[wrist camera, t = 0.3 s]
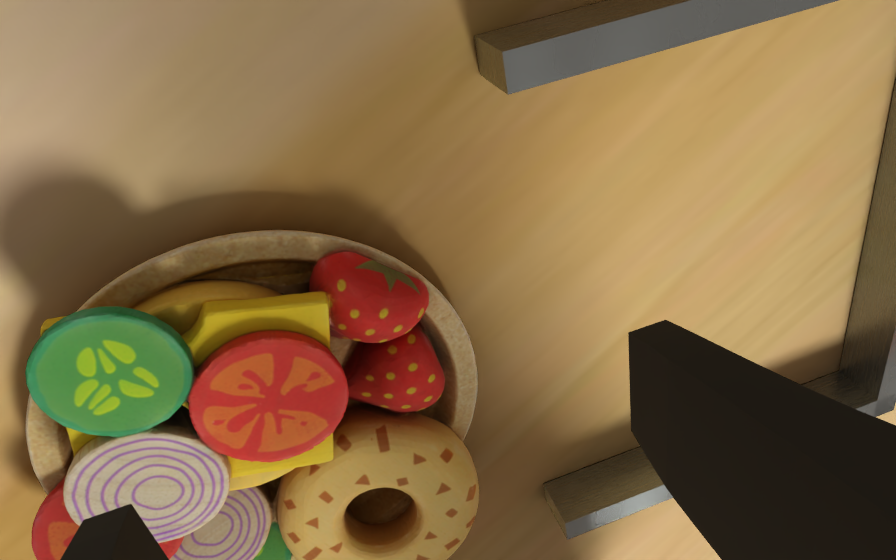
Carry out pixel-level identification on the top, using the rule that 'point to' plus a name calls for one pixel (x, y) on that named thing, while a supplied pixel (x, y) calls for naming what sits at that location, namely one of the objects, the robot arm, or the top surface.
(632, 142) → the top surface
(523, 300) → the top surface
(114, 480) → the toy food set
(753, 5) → the tray
